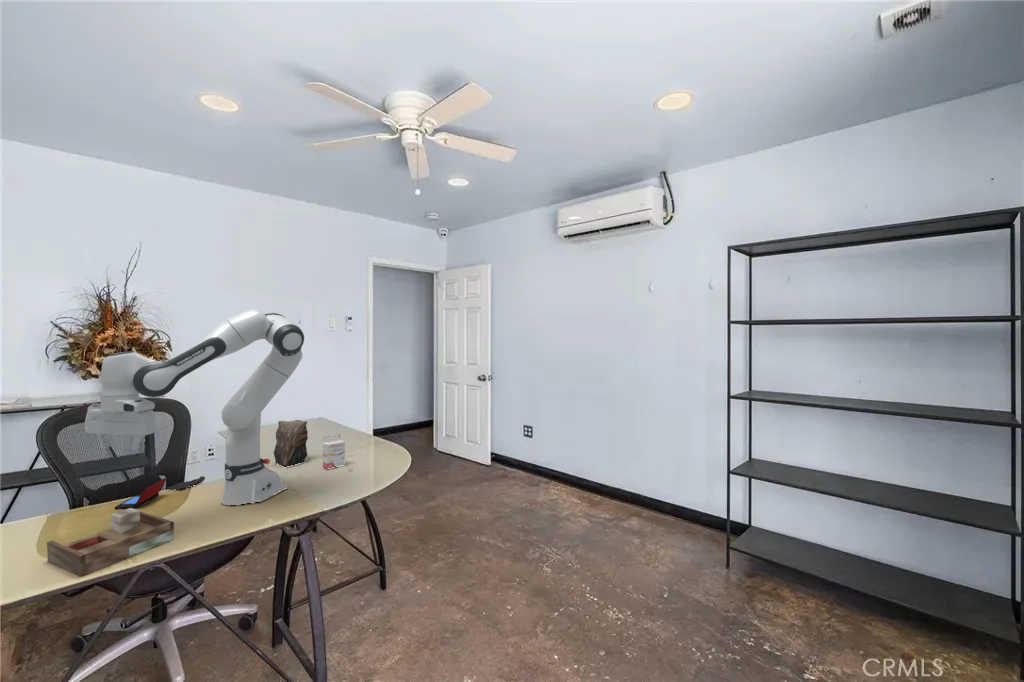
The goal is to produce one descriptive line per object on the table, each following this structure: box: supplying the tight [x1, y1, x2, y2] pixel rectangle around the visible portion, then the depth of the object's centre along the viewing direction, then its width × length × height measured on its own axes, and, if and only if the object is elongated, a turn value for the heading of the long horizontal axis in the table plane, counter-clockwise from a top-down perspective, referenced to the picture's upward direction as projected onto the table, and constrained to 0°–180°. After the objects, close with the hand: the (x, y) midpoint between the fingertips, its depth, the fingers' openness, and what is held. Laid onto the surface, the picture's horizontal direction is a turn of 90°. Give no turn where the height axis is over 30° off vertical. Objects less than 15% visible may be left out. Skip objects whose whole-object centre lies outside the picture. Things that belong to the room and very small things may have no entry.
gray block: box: [110, 508, 141, 533], centre depth 137 cm, size 5×5×5 cm
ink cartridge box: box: [322, 433, 346, 470], centre depth 205 cm, size 9×5×15 cm, turn 133°
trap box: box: [46, 511, 175, 578], centre depth 130 cm, size 22×18×6 cm
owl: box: [273, 419, 309, 467], centre depth 210 cm, size 13×13×20 cm
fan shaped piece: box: [167, 475, 206, 492], centre depth 183 cm, size 8×14×2 cm, turn 163°
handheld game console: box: [114, 477, 168, 510], centre depth 164 cm, size 12×11×7 cm
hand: (120, 448), depth 138 cm, fingers open, 8 cm apart
